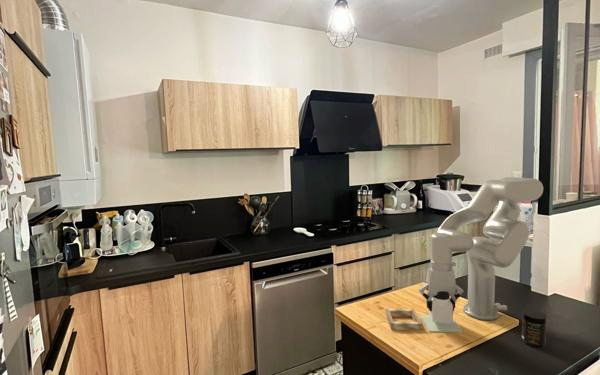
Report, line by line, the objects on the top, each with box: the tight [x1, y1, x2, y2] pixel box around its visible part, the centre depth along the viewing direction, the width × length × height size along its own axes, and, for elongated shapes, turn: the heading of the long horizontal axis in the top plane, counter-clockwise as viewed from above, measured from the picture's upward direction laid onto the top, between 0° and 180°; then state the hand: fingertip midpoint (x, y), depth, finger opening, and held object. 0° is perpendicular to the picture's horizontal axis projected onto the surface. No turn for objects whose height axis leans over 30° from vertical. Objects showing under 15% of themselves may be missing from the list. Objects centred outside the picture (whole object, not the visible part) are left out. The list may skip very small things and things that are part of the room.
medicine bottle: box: [428, 291, 454, 323], centre depth 125 cm, size 7×7×12 cm
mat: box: [419, 314, 464, 333], centre depth 125 cm, size 12×12×1 cm
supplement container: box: [521, 309, 548, 349], centre depth 110 cm, size 7×7×10 cm
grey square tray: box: [385, 308, 423, 331], centre depth 127 cm, size 11×11×2 cm
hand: (440, 309), depth 125 cm, fingers closed on medicine bottle, 7 cm apart
